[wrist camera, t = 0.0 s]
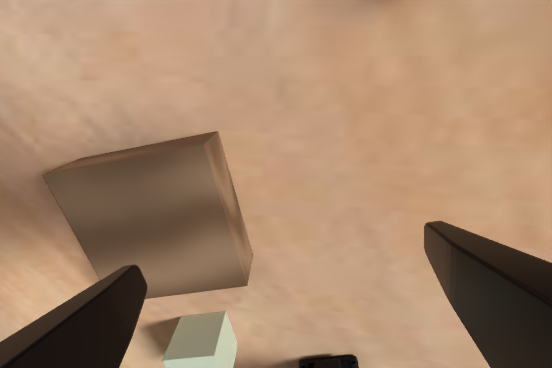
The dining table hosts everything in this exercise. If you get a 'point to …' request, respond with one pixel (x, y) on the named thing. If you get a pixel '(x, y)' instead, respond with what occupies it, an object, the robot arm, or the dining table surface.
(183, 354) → the sage cube
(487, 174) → the dining table surface
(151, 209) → the walnut base
